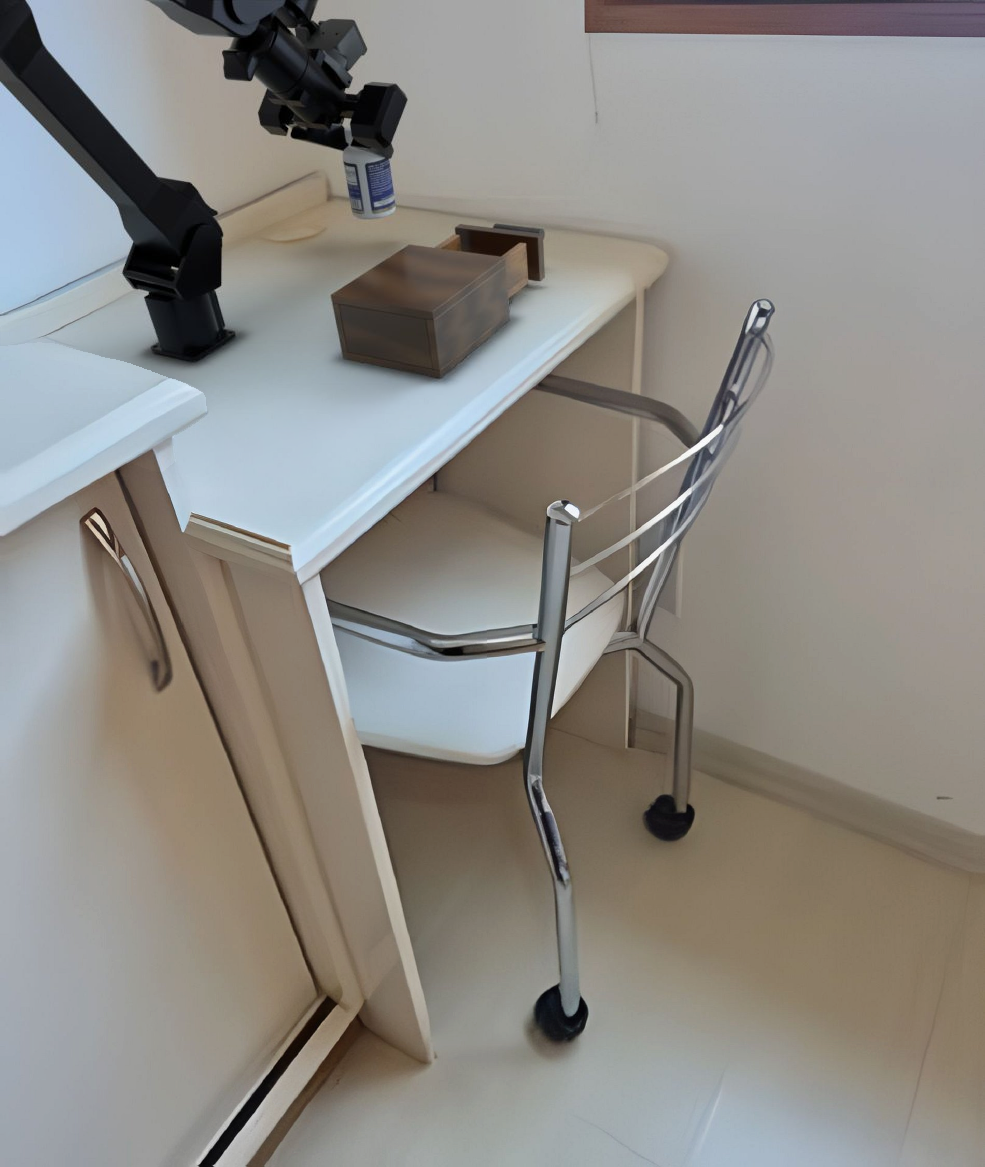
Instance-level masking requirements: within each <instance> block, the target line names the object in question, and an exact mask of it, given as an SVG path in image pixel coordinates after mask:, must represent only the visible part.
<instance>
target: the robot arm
mask: <svg viewBox="0 0 985 1167" xmlns="http://www.w3.org/2000/svg"><path fill="white" fill-rule="evenodd" d="M145 1H147V2H149V3H150V4H152V5H153V6H155V7H157V8H159V10H161V11H162V12H163V13H164V14H165V15H166V17H168V18H169V19H170V20H171V21H173V22H175V23H176V24H178V25H180V26H181V27H183V28H185V29H186V30H187V31H189V32H191V33H193V34H194V35H197V36H202V37H203V36H204V37H219V38H220V37H221V38H233V39H232V41H231V43H230V46H229V48H228V49H223V50H222V51H221V56H222V58H223V65H222V70H223V76H224V79H225V80H227V81H238V82H249V83H250V82H251V81H253V79H254V78H255V79H257V80H258V81H259V82H260V83H261V84H262V85H263V86H264V87H266V89H265V92H264V96H263V98H262V101H261V103H260V106H259V108H258V111H257V116H258V120H259V125H260V127H262V128H263V129H264V130H265V131H266V132H267V133H269V134H270V135H274V136H280V137H287V136H288V134H289V130H290V136H289V137H290V138H291V139H293V140H295V141H296V140H297V141H301V142H305V143H309V144H312V145H317V146H321V147H325V148H329V149H333V150H335V151H340V152H343V151H344V149H345V148H346V147H348V146H349V144H348V143H347V142H346V138H345V132H344V128H345V127H344V125H343V124H344V121H345V119H349V120H350V122H349V125H350V128H351V134H352V137H353V140H352V142H351V145H350V146H352V147H354V148H357V149H360V150H364V151H367V152H370V153H372V154H375V155H378V156H381V157H385V158H388V159H389V160H391V159H392V157H393V155H394V152H395V150H394V147H393V144H392V143H393V140H394V137H395V134H396V132H397V129H398V127H399V124H400V122H401V118H402V116H403V113H404V110H405V109H406V105H407V104H408V103H407V102H408V100H409V99H408V96H407V94H406V93H405V91H403V90H402V88H401V87H400V86H399V85H398V84H397V83H394V82H393V83H390V82H381V81H380V82H379V81H371V82H367V83H365V84H364V85H363V87H362V89H360V90H359V91H358V92H357V93H356V94H355V93H346V92H345V91H346V89H350V87H351V85H352V82H353V79H354V77H353V76H352V75H351V74H350V73H349V71H350V70H351V69H352V68H353V67H354V66H355V64H357V62H358V61H359V59H361V57H362V56H365V55H366V53H367V52H368V47H367V45H366V42H365V40H364V37H363V35H362V34H361V31H360V30H359V27H358V25H357V22H356V20H355V19H351V18H350V19H347V18H346V19H345V18H328V19H326V20H319V21H318V22H316V21H315V20H313V16H314V12H315V10H316V7H317V5H318V3H319V0H145ZM290 29H294V32H292V31H291V30H290ZM294 33H295V34H294ZM0 83H1V84H2V85H3V87H5V89H7V90H8V92H9V93H10V94H11V95H12V96H13V97H14V98H15V99H16V100H17V102H19V103H20V104H21V106H22V107H23V108H24V109H25V110H26V111H27V112H28V113H29V114H30V115H31V116H32V117H33V118H34V119H35V120H36V121H37V122H38V123H39V124H40V125H41V127H43V128H44V130H45V131H46V132H47V133H48V134H49V135H50V136H51V137H52V138H53V139H54V140H55V141H56V142H57V143H58V144H59V146H61V147H62V149H64V151H65V152H66V153H67V154H68V155H69V156H70V157H71V159H73V160H74V161H75V163H77V164H78V166H80V168H81V169H82V170H83V171H84V172H85V173H86V174H87V175H88V176H89V177H90V178H91V180H93V181H94V182H95V184H96V185H97V186H98V187H99V188H100V189H101V190H102V192H104V193H105V194H106V195H107V197H109V198H110V199H111V201H113V203H114V204H115V206H116V207H117V209H118V213H119V216H120V219H121V223H122V226H123V229H124V231H125V232H126V233H127V235H128V236H129V238H130V239H131V241H132V243H131V247H130V248H129V252H128V255H127V257H126V261H125V262H124V266H123V269H122V271H121V273H122V276H123V277H124V279H125V280H126V281H127V283H128V284H129V285H130V287H131V288H132V289H133V290H141V291H144V292H147V293H148V294H147V295H145V296H144V297H143V299H144V302H145V305H146V308H147V311H148V315H149V317H150V320H151V324H152V326H153V329H154V332H155V335H156V338H157V341H158V342H156V343H155V344H153V345H151V346H150V350H151V352H152V353H154V354H159V355H163V356H168V357H172V358H177V359H181V360H185V361H189V362H190V361H191V362H196V361H198V360H200V359H202V358H204V357H205V356H207V355H208V354H210V353H211V352H213V351H215V350H216V349H218V348H220V347H221V346H223V345H225V344H227V343H228V342H229V341H231V340H232V339H234V338H236V337H237V334H236V331H235V330H232V329H227V328H226V323H225V319H224V315H223V312H222V308H221V305H220V302H219V297H218V295H217V289H219V288H221V287H222V283H223V282H222V280H223V279H222V278H223V277H222V271H223V270H222V269H223V266H222V265H223V237H224V231H223V228H222V226H221V225H220V223H219V221H218V219H216V218H215V216H218V215H219V211H217V210H216V209H214V208H212V207H210V205H209V204H208V203H207V202H206V201H205V199H204V198H203V196H202V195H201V193H200V191H199V190H198V188H197V187H196V186H195V185H193V183H192V182H190V181H185V180H179V179H173V178H168V177H162V176H157V175H156V173H155V171H154V170H152V168H151V167H149V165H148V164H147V163H146V162H145V161H144V160H143V158H142V157H141V156H140V155H139V154H138V153H137V151H136V150H135V149H134V148H133V147H132V146H131V144H130V143H129V142H128V141H127V140H126V138H124V136H122V134H121V133H120V132H119V131H118V130H117V128H116V127H115V126H114V125H113V124H112V123H111V122H110V121H109V119H108V118H107V116H106V115H105V114H104V113H103V112H102V111H101V110H100V109H99V107H97V105H96V104H95V103H94V101H93V100H91V99H90V97H89V96H88V95H87V94H86V92H85V91H84V90H83V89H82V87H80V86H79V84H77V82H76V81H75V80H74V79H73V78H72V76H71V75H70V74H69V73H68V72H67V71H66V70H65V68H64V67H63V66H62V65H61V64H60V63H59V62H58V60H57V59H56V58H55V57H54V56H53V54H52V53H51V52H50V51H49V50H48V49H47V47H46V45H45V44H44V42H43V40H42V37H41V34H40V31H39V28H38V25H37V22H36V18H35V15H34V12H33V10H32V8H31V6H30V5H29V3H28V1H27V0H0ZM289 128H290V129H289ZM175 268H176V269H175Z"/></svg>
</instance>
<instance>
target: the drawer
mask: <svg viewBox="0 0 985 1167" xmlns="http://www.w3.org/2000/svg"><path fill="white" fill-rule="evenodd" d="M545 234H546V232H545V229H544V228H541V227H531V226H530V227H529V226H522V225H513V224H504V223H494V224H493V226H492V227H489V226H480V225H471V224H463V223H460V224H458V225H457V226H455V227H454V234H452V235H450V236H449V237H447V238H446V239H445V240H444V241H442V242H440V243H439V244H437V245H436V246H434V247H433V248H439V249H447V250H454V251H462V252H469V253H477V254H484V255H492V256H499V257H505V258H506V272H507V286H508V300H509V299H510V298H512V297H513V296H514V295H516V294H517V293H518V292H519V291H520V290H522V289H523V288H524V287H525V286H527V284H529V281H534V282H542V281H543V280H545V278H546V269H545V246H544V239H545Z"/></svg>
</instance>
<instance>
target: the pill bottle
mask: <svg viewBox="0 0 985 1167" xmlns="http://www.w3.org/2000/svg"><path fill="white" fill-rule="evenodd" d="M344 132H345V138H346V142H347V143H348V144H349V146H348V147H346V148H345V149H344V151H342V161H343V162H342V164H343V167H344V173H345V180H346V184H347V191H348V198H349V203H350V204H349V205H350V209H351V213H352V216H353V217H355V218H357V219H359V220H376V219H383V218H386V217H389V216H391V215H393V214H394V213H395V211H396V208H397V207H396V198H395V191H394V183H393V176H392V169H391V163H390V159H388V158H385V157H381V156H378V155H375V154H372V153H370V152H367V151H364V150H360V149H357V148H354V147H352V146H350V145H351V142H352V140H353V137H352V134H351V128H350V124H349V125H347V126H345V127H344Z"/></svg>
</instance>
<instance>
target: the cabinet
mask: <svg viewBox="0 0 985 1167" xmlns="http://www.w3.org/2000/svg"><path fill="white" fill-rule="evenodd" d="M330 299H331V305H332V310H333V315H334V319H335V325H336V330H337V335H338V340H339V345H340V349H341V355H342V359H345V360H349V361H355V362H358V363H364V364H369V365H375V366H378V367H383V368H389V369H392V370H393V369H394V370H398V371H403V372H408V373H414V374H417V375H423V376H428V377H432V378H437V379H442V378H443V377H444V376H445V375H446V374H448V373H449V372H450V371H451V370H452V369H454V368H455V367H456V366H457V365H458V364H459V363H461V362H462V361H463V360H464V359H465V358H467V357H468V356H469V355H470V354H472V352H474V351H475V350H476V349H477V348H479V346H481V345H483V343H484V342H486V341H487V340H488V339H489V338H491V337H492V336H493V335H494V334H495V333H497V332H498V331H499V330H500V329H501V328H502V327H504V326H505V325H506V324H507V323H508V322H510V321H511V315H510V305H509V304H510V302H509V299H508V286H507V272H506V258H505V257H499V256H492V255H484V254H477V253H469V252H462V251H454V250H447V249H439V248H434V247H430V246H424V245H417V244H416V245H415V244H408V245H406V246H405V247H403V248H401V249H400V250H397V252H395V253H394V254H392V255H390V256H389V257H387V258H386V259H384V260H383V261H381V262H379V263H378V264H376V265H375V266H373V267H372V268H370V269H368V270H367V271H365V272H364V273H363V274H361V275H359V276H357V277H356V278H355V279H353V280H351V281H350V282H348V283H347V284H344V285H343V286H342V287H340V288H339V289H337V290H336V291H334V292H333V293H331V294H330Z"/></svg>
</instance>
